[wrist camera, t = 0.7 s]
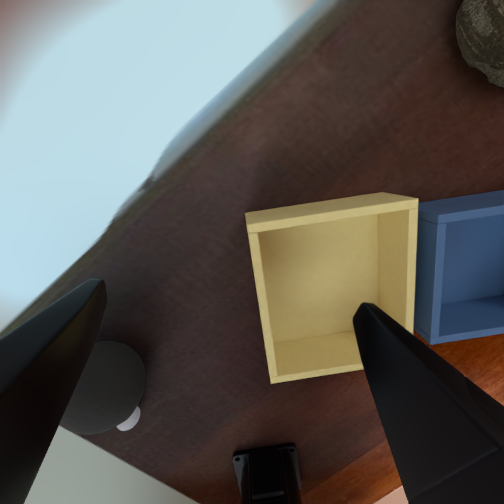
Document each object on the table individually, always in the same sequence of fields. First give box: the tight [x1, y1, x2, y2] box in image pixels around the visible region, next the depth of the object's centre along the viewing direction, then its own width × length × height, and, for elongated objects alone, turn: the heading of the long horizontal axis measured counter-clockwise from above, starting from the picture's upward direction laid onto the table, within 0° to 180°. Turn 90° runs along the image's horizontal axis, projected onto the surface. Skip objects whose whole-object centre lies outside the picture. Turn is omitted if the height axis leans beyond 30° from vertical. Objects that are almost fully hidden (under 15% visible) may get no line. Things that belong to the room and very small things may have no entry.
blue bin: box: [413, 190, 504, 345], centre depth 21 cm, size 10×10×4 cm
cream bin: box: [245, 192, 418, 384], centre depth 21 cm, size 12×11×4 cm
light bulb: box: [60, 341, 146, 435], centre depth 22 cm, size 6×6×10 cm
